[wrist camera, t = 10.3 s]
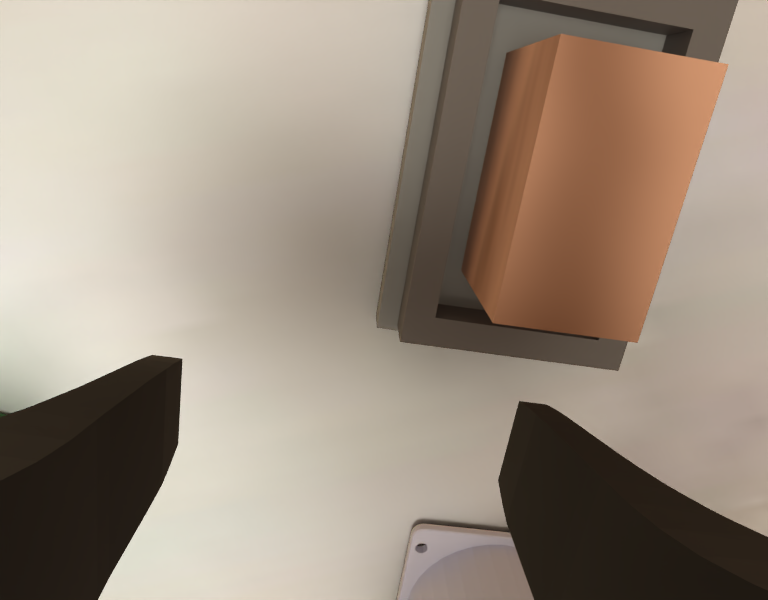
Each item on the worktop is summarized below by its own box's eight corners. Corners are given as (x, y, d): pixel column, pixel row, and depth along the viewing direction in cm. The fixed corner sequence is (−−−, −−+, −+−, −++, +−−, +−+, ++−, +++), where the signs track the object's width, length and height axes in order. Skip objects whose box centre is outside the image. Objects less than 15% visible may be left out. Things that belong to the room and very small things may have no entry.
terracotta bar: (630, 75, 18) (728, 64, 13) (571, 286, 20) (637, 342, 15) (506, 52, 17) (560, 33, 13) (461, 270, 20) (493, 323, 15)
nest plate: (604, 346, 22) (635, 378, 20) (376, 315, 21) (378, 344, 19) (708, 8, 18) (765, -7, 16) (436, -45, 17) (448, -70, 15)
